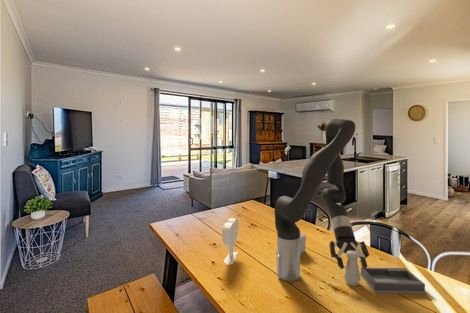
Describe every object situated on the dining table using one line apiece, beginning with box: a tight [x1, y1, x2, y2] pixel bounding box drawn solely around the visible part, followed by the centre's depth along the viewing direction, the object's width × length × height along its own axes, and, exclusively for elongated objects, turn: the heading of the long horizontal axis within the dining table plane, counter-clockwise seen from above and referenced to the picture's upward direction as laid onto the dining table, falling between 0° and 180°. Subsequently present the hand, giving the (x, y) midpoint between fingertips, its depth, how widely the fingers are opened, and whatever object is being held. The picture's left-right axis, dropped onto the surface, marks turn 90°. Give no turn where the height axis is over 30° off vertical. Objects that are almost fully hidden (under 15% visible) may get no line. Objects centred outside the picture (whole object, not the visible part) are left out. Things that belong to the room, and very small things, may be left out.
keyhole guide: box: [359, 267, 426, 295], centre depth 96 cm, size 18×12×3 cm, turn 87°
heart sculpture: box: [221, 217, 239, 265], centre depth 118 cm, size 16×5×18 cm, turn 165°
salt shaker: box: [343, 250, 361, 287], centre depth 96 cm, size 6×6×13 cm
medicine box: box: [300, 233, 307, 255], centre depth 122 cm, size 8×4×9 cm, turn 135°
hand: (353, 268), depth 95 cm, fingers open, 8 cm apart
